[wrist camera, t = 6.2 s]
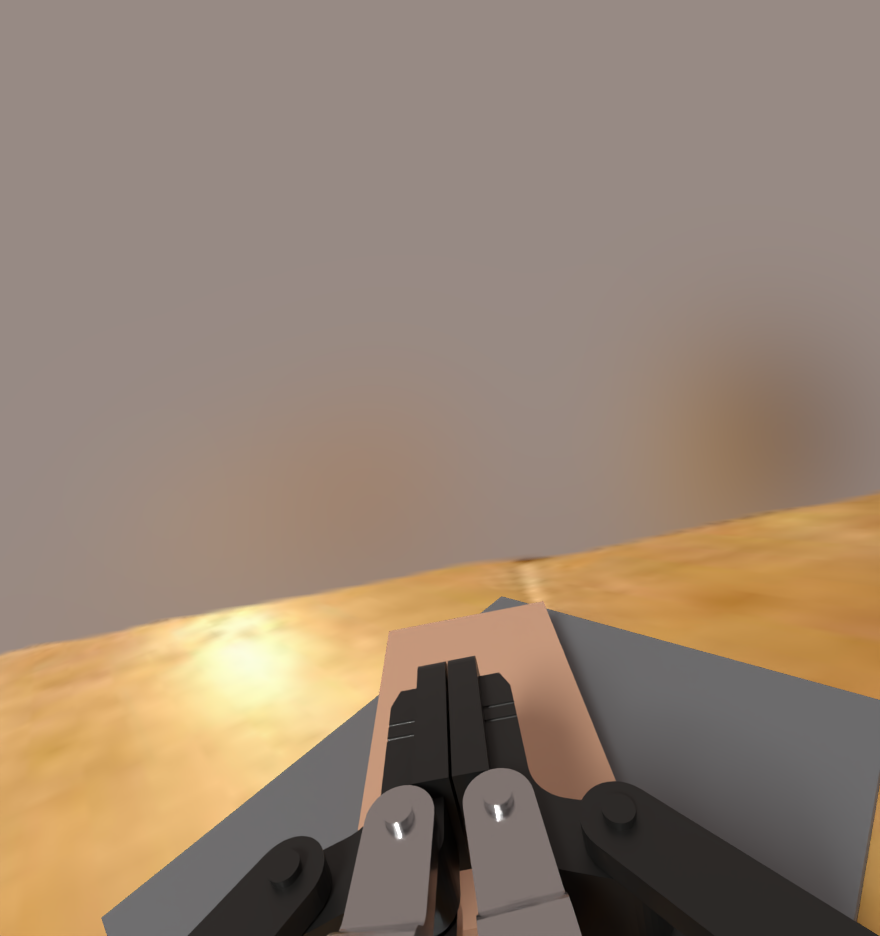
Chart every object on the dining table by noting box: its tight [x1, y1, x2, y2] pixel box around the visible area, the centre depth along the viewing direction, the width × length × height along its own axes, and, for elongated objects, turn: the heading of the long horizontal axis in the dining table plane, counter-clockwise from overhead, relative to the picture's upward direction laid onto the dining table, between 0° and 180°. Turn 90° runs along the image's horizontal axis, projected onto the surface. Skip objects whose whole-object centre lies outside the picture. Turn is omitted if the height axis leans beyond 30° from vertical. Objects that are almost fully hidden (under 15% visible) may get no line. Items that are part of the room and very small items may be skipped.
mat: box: [102, 597, 880, 936], centre depth 18 cm, size 22×18×1 cm
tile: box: [358, 601, 616, 936], centre depth 19 cm, size 2×8×14 cm
